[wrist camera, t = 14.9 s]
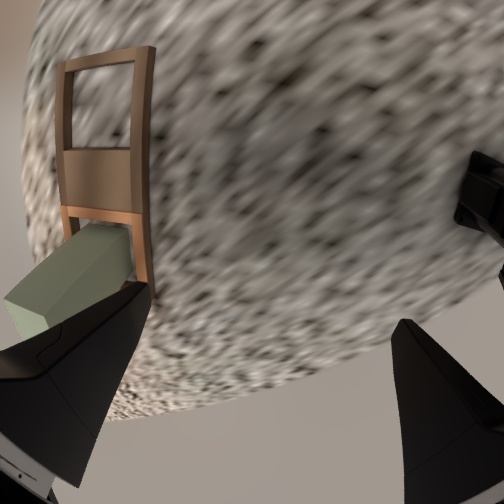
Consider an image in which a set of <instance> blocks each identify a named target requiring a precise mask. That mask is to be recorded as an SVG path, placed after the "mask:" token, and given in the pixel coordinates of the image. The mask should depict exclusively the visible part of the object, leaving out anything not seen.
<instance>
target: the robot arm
mask: <svg viewBox="0 0 504 504" xmlns="http://www.w3.org/2000/svg"><path fill="white" fill-rule="evenodd" d="M477 155H478V159H476V157H477ZM459 217H461V218H460V220H459ZM454 220H455V222H456V223H457V224H459V225H462V226H466V227H469V228H472V229H476V230H479V231H482V232H486V233H487V234H489V235H490V236H491V237H492V238H493V239H494V240H495V241H496V242H497V243H499V244H500V245H501V246H502V247H503V248H504V164H502V163H500V162H498V161H496V160H495V159H493V158H491V157H489V156H487V155H485V154H483V153H480V152H478V151H474V152H473V153H472V157H471V161H470V165H469V169H468V173H467V177H466V180H465V184H464V188H463V191H462V194H461V198H460V201H459V204H458V207H457V211H456V214H455V217H454ZM498 277H499V279H500V282H501V284H502V286H503V289H504V264H503V267H502V270H500V273H499V276H498ZM150 308H151V293H150V286H149V284H148V283H147V282H142V281H136V282H134V283H132V284H130V285H129V286H127V287H125V288H123V289H121V290H119V291H117V292H115V293H113V294H112V295H110V296H108V297H106V298H104V299H102V300H100V301H99V302H97V303H95V304H93V305H91V306H89V307H88V308H86V309H84V310H82V311H80V312H78V313H77V314H75V315H73V316H71V317H69V318H67V319H66V320H64V321H63V322H60V323H58V324H57V325H55V326H53V327H51V328H49V329H47V330H45V331H44V332H42V333H39V334H37V335H35V336H33V337H31V338H29V339H27V340H25V341H22V342H20V343H18V344H16V345H14V346H11V347H9V348H7V349H5V350H2V351H0V504H58V501H57V499H56V497H55V494H54V492H53V490H52V487H51V486H52V483H53V481H54V478H55V476H56V477H58V478H60V479H61V480H63V481H65V482H67V483H69V484H70V485H72V486H74V487H76V488H79V486H80V484H81V481H82V477H83V475H84V472H85V469H86V467H87V463H88V460H89V458H90V456H91V453H92V450H93V448H94V445H95V442H96V439H97V437H98V434H99V432H100V429H101V427H102V424H103V422H104V419H105V417H106V415H107V412H108V410H109V407H110V405H111V403H112V400H113V398H114V396H115V393H116V391H117V389H118V386H119V384H120V382H121V380H122V377H123V375H124V373H125V371H126V368H127V366H128V364H129V362H130V360H131V358H132V355H133V353H134V351H135V349H136V347H137V345H138V342H139V340H140V337H141V334H142V331H143V328H144V325H145V322H146V319H147V316H148V314H149V311H150ZM391 346H392V359H393V373H394V381H395V387H396V394H397V401H398V409H399V417H400V425H401V436H402V446H403V463H404V502H405V503H404V504H504V405H503V404H502V403H501V402H500V401H499V400H497V399H496V398H495V397H494V396H493V395H492V394H490V393H489V392H488V391H487V390H486V389H485V388H484V387H483V386H482V385H481V384H480V383H479V382H478V381H477V380H475V378H474V377H473V376H472V375H470V373H468V372H467V370H465V369H464V368H463V367H462V366H461V365H460V364H459V363H458V362H457V361H456V360H455V359H454V358H453V357H452V356H451V355H450V354H449V353H448V352H447V351H446V350H444V349H443V348H442V347H441V346H440V345H439V344H438V343H437V342H436V341H435V340H434V339H433V338H432V337H430V336H429V335H428V334H427V333H426V332H425V331H424V330H423V329H422V328H421V327H419V326H418V325H417V324H416V323H415V322H414V321H413V320H411V319H404V318H403V319H401V320H400V321H399V323H398V324H397V326H396V328H395V330H394V332H393V334H392V337H391Z"/></svg>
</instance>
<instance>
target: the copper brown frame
mask: <svg viewBox="0 0 504 504" xmlns="http://www.w3.org/2000/svg"><path fill="white" fill-rule="evenodd" d="M155 51H156V48H154V47H151V46H142V47H134V48H127V49H120V50H114V51H109V52H103V53H98V54H93V55H89V56H84V57H80V58H76V59H72V60H68V61H65V62H61V63H58V68H57V80H56V98H55V143H56V161H57V174H58V184H59V193H60V201H61V205H60V211H61V217H62V223H63V229H64V234H65V239H66V241H67V240H68V239H70V238H71V237H72V236H73V235H75V234H76V233H77V232H78V231H80V227H79V220H78V218H86V219H93V220H101V221H108V222H116V223H123V224H131V225H132V235H133V246H134V256H135V264H136V273H137V280H138V281H142V282H147V283H148V284H149V286H150V293H151V301H152V300H153V298H154V296H155V288H154V278H153V267H152V254H151V240H150V221H149V189H148V153H149V122H150V104H151V90H152V79H153V68H154V59H155ZM130 62H135V65H134V75H133V87H132V102H131V125H130V148H122V147H100V148H72V135H71V113H72V87H73V74H74V72H76V71H81V70H86V69H91V68H96V67H102V66H108V65H115V64H122V63H130ZM132 283H134V282H129V281H125V282H124V283H123V285H122V286H121V287H120V289H119V290H121V289H123V288H125V287H127V286H129V285H130V284H132ZM119 290H118V291H119Z"/></svg>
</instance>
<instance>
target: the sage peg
mask: <svg viewBox="0 0 504 504" xmlns="http://www.w3.org/2000/svg"><path fill="white" fill-rule="evenodd" d="M132 272H133V271H132V263H131V255H130V246H129V236H128V229H124V228H117V227H110V226H103V225H96V224H87V225H86V226H85V227H83V228H82V229H81V230H80V231H78V232H77V233H76V234H75V235H73V236H72V237H71V238H70V239H68V240H67V241H66V242H65V243H64V244H62V245H61V246H60V247H59V248H58V249H56V250H55V251H54V252H53V253H52V254H50V255H49V256H48V257H47V258H46V259H45V260H44V261H42V262H41V263H40V264H39V265H38V266H37V267H36V268H35V269H34V270H32V271H31V273H29V274H28V275H27V276H26V277H25V278H24V279H23V280H22V281H21V282H20V283H19V284H18V285H17V286H15V287H14V288H13V290H11V291H10V292H9V293H8V294H7V295H6V296H5V298H3V299H4V302H5V304H6V306H7V309H8V311H9V313H10V315H11V317H12V319H13V321H14V324H15V325H16V327H17V330H18V332H19V334H20V335H21V337H22V339H23V341H25V340H27V339H29V338H31V337H33V336H35V335H37V334H39V333H42V332H44V331H45V330H47V329H49V328H51V327H53V326H55V325H57V324H58V323H60V322H63V321H64V320H66V319H67V318H69V317H71V316H73V315H75V314H77V313H78V312H80V311H82V310H84V309H86V308H88V307H89V306H91V305H93V304H95V303H97V302H99V301H100V300H102V299H104V298H106V297H108V296H110V295H112V294H113V293H115V292H117V291H118V290H119V289H120V287H121V286H122V285H123V283H124V282H125V281H126V280H127V278H128V277H129V276H130V274H131V273H132Z"/></svg>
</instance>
